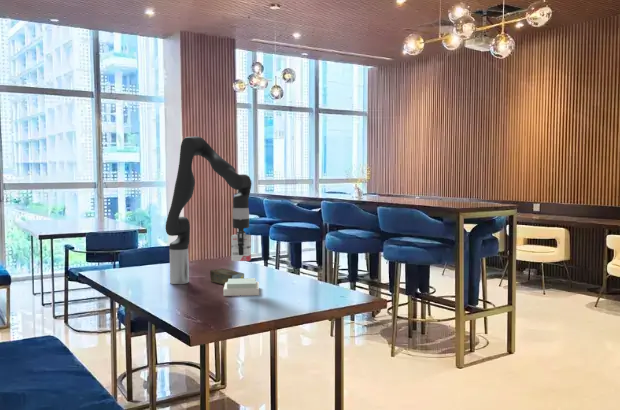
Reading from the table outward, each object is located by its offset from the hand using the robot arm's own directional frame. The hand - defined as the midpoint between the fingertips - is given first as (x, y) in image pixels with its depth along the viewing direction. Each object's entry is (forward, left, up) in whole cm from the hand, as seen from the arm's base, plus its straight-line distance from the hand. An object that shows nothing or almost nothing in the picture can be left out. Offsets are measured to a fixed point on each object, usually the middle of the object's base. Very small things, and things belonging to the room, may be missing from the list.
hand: (241, 253), depth 259 cm
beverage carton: (-22, -8, -18) cm, 29 cm away
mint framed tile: (0, 0, -18) cm, 18 cm away
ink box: (0, 0, -3) cm, 3 cm away
